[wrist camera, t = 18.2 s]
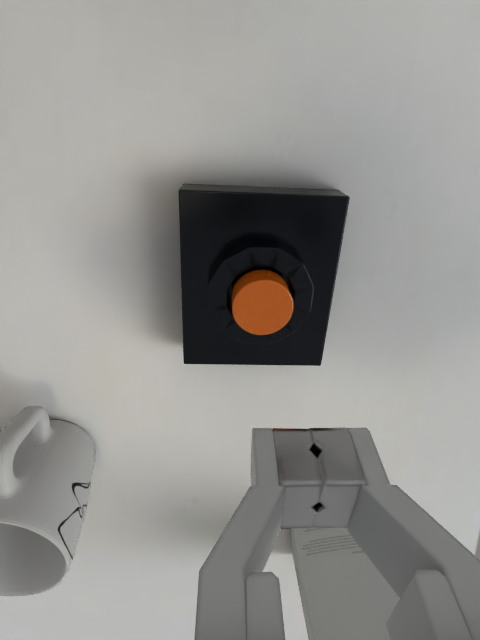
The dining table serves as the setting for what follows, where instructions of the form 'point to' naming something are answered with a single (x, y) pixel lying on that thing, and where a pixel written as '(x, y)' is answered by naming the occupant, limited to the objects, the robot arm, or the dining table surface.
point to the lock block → (257, 268)
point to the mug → (41, 499)
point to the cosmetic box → (340, 586)
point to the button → (261, 302)
